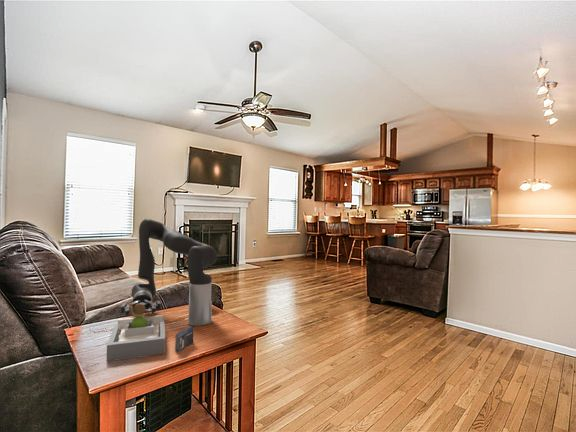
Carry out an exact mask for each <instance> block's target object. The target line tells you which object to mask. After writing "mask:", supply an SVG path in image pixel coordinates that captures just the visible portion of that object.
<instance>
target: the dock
mask: <svg viewBox="0 0 576 432" xmlns="http://www.w3.org/2000/svg"><path fill="white" fill-rule="evenodd" d="M111 331H112V332H111V334H110V336H109V339H108V342H107V344H106V362H111V361H118V360H124V359H125V360H126V359H132V358H139V357H140V358H141V357H149V356H155V355H162V354H166V330H165V320H163V321H160V326H159V337H154V338H145V339H137V340H128V341H120V342H118V340H119V337H120V330H119V326H118V325H114V327H113V329H112V330H111Z"/></svg>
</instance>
